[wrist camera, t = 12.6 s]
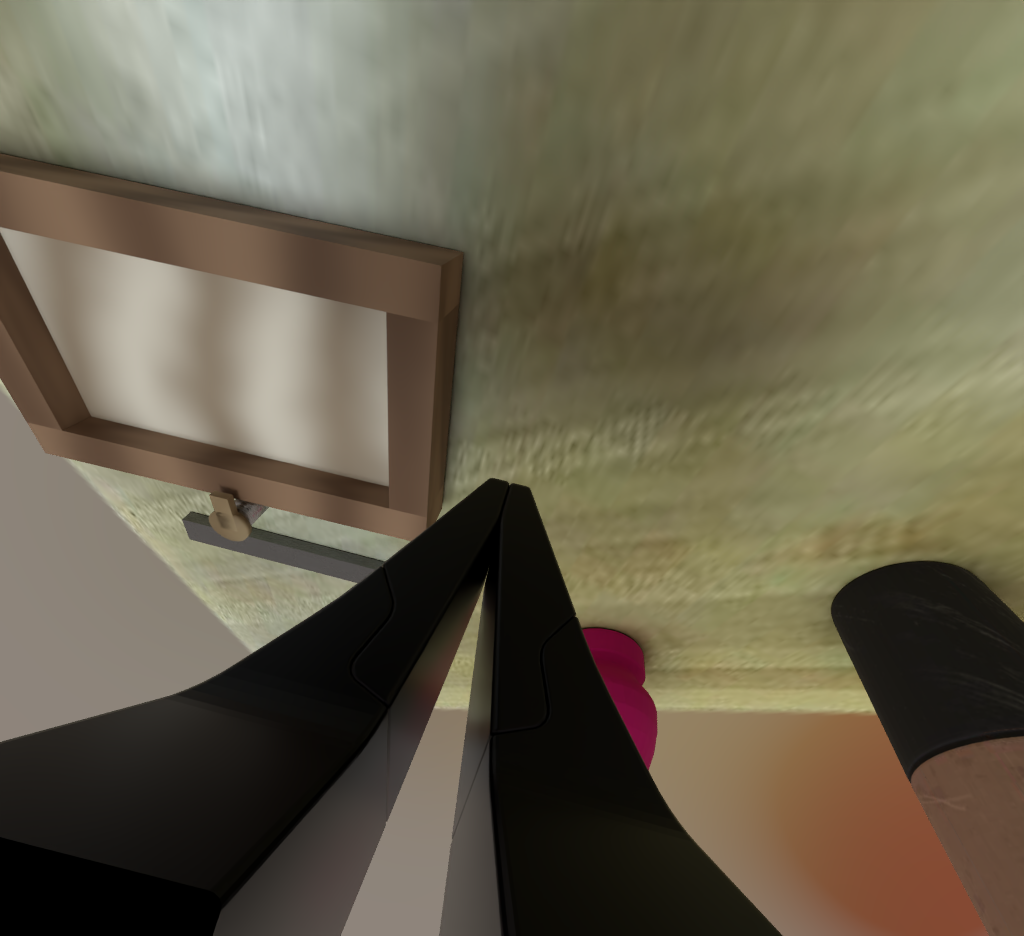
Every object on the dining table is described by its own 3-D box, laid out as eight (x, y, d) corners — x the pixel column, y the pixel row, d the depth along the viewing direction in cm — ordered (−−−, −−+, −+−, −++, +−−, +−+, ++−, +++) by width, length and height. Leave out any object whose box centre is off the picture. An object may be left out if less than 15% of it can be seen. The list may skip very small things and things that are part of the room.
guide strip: (463, 582, 29) (460, 591, 29) (460, 599, 31) (457, 609, 30) (191, 511, 30) (182, 519, 29) (198, 531, 31) (189, 539, 30)
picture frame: (463, 252, 17) (433, 270, 14) (439, 538, 27) (418, 586, 24) (-43, 144, 18) (-176, 138, 15) (113, 460, 28) (52, 496, 25)
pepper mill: (626, 613, 29) (665, 1189, 12) (665, 672, 32) (735, 1194, 15) (534, 633, 32) (467, 1117, 15) (577, 684, 35) (559, 1133, 18)
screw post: (285, 475, 26) (247, 511, 24) (288, 494, 27) (252, 531, 24) (260, 469, 26) (220, 504, 24) (264, 488, 27) (226, 525, 24)
